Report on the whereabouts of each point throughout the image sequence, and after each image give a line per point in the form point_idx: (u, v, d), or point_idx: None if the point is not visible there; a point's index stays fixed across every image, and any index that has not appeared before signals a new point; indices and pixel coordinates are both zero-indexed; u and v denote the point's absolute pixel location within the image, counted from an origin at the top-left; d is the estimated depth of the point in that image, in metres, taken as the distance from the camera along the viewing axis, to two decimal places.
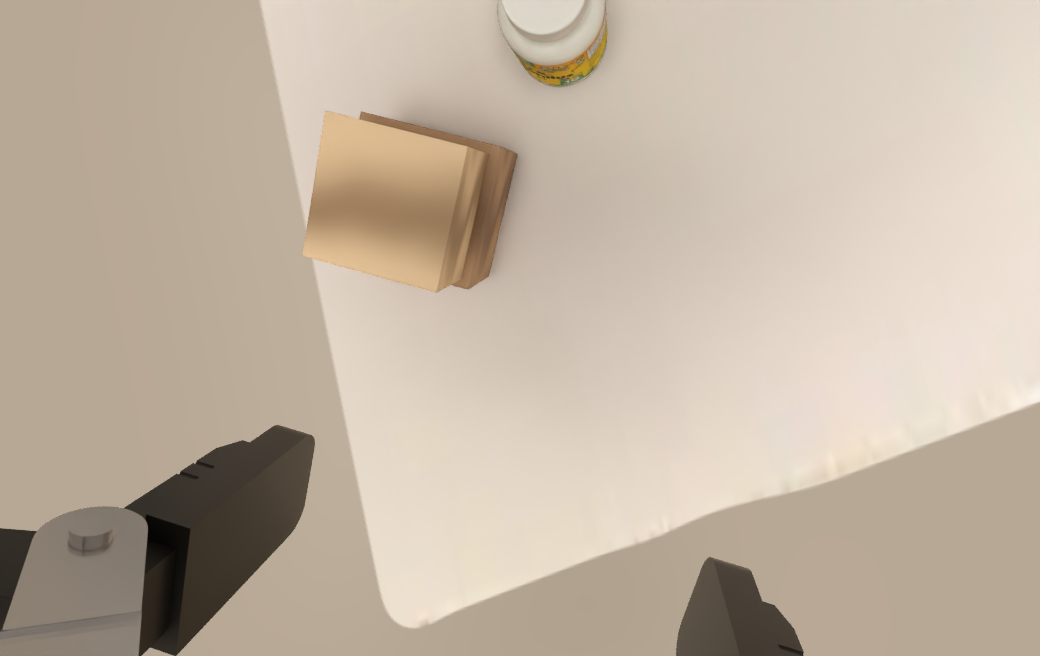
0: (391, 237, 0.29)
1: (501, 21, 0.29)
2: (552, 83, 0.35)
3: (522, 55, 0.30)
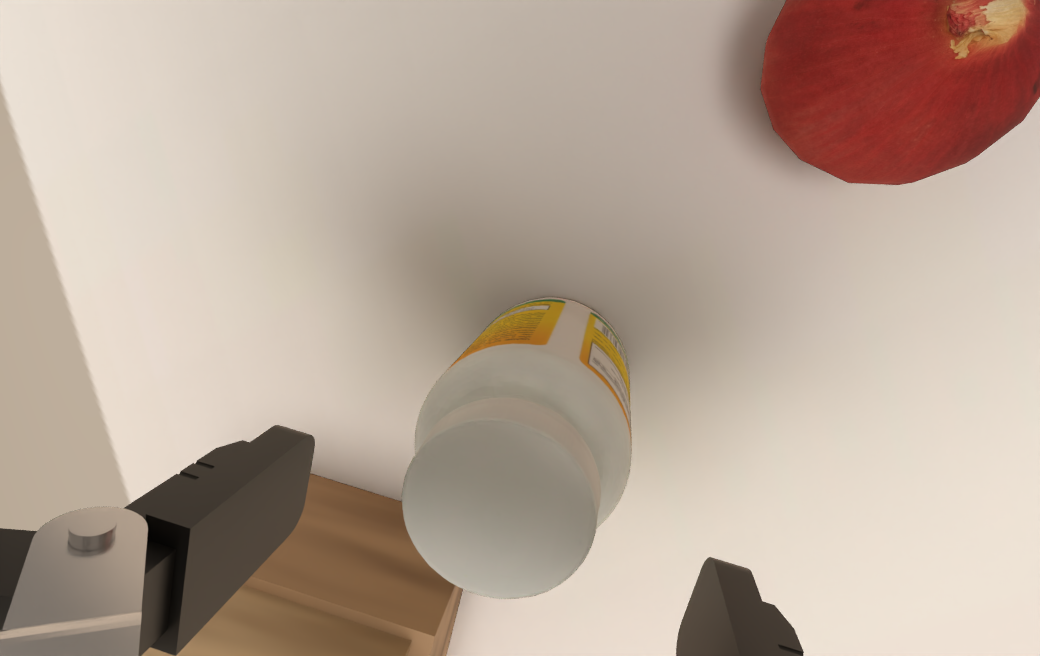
0: None
1: None
2: None
3: None
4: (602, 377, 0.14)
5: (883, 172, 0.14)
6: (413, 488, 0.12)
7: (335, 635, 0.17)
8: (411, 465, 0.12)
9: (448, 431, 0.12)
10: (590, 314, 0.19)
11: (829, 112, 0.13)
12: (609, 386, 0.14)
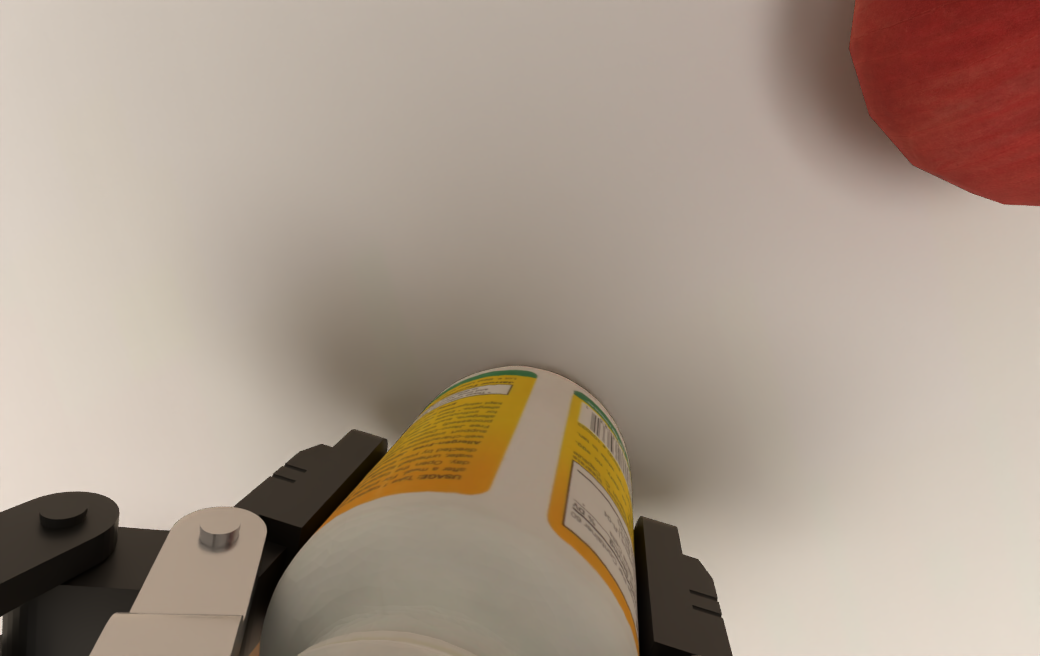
0: None
1: None
2: None
3: None
4: (588, 551, 0.08)
5: None
6: None
7: None
8: None
9: None
10: (573, 396, 0.13)
11: (1013, 74, 0.07)
12: (600, 568, 0.08)
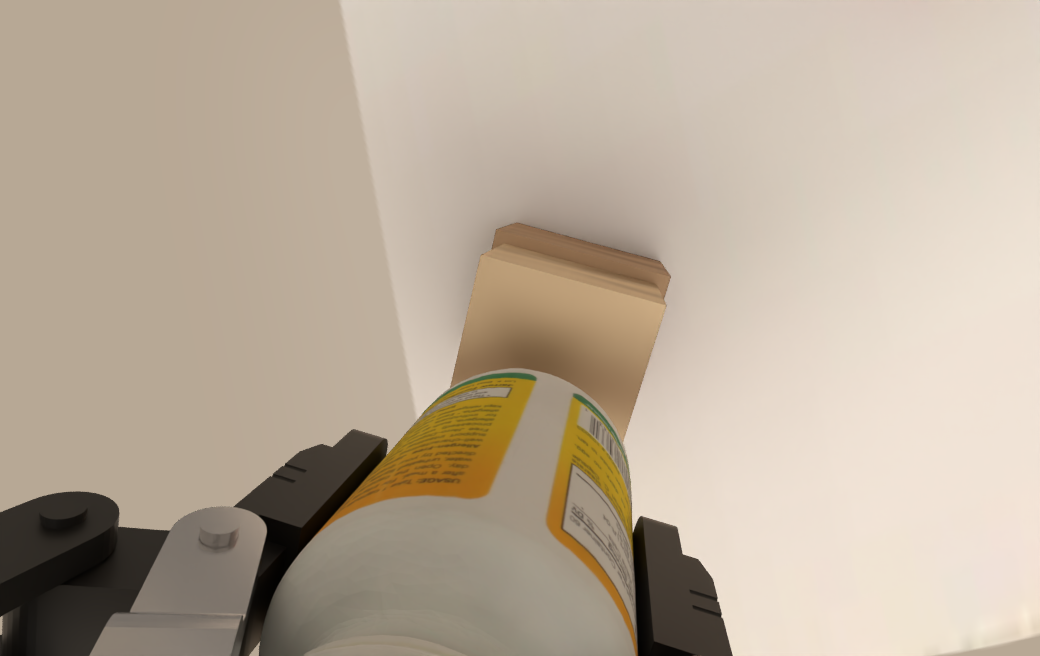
0: None
1: None
2: None
3: None
4: (586, 555, 0.08)
5: None
6: None
7: (610, 274, 0.26)
8: None
9: None
10: (572, 399, 0.13)
11: None
12: (599, 571, 0.08)
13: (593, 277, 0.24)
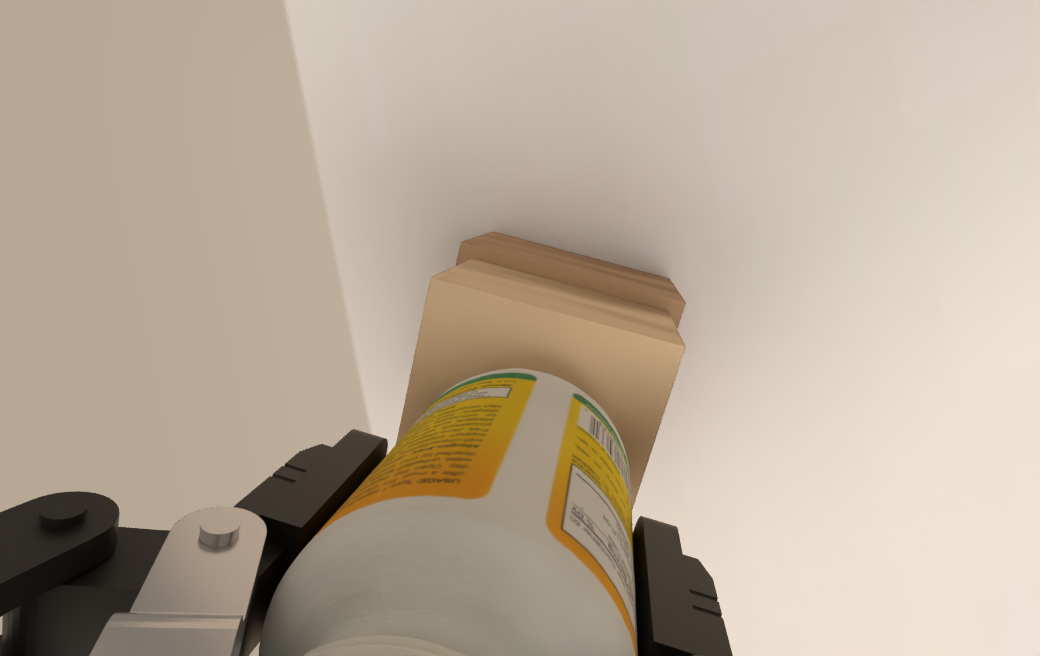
0: None
1: None
2: None
3: None
4: (586, 555, 0.08)
5: None
6: None
7: (608, 298, 0.20)
8: None
9: None
10: (572, 399, 0.13)
11: None
12: (599, 572, 0.08)
13: (585, 305, 0.18)
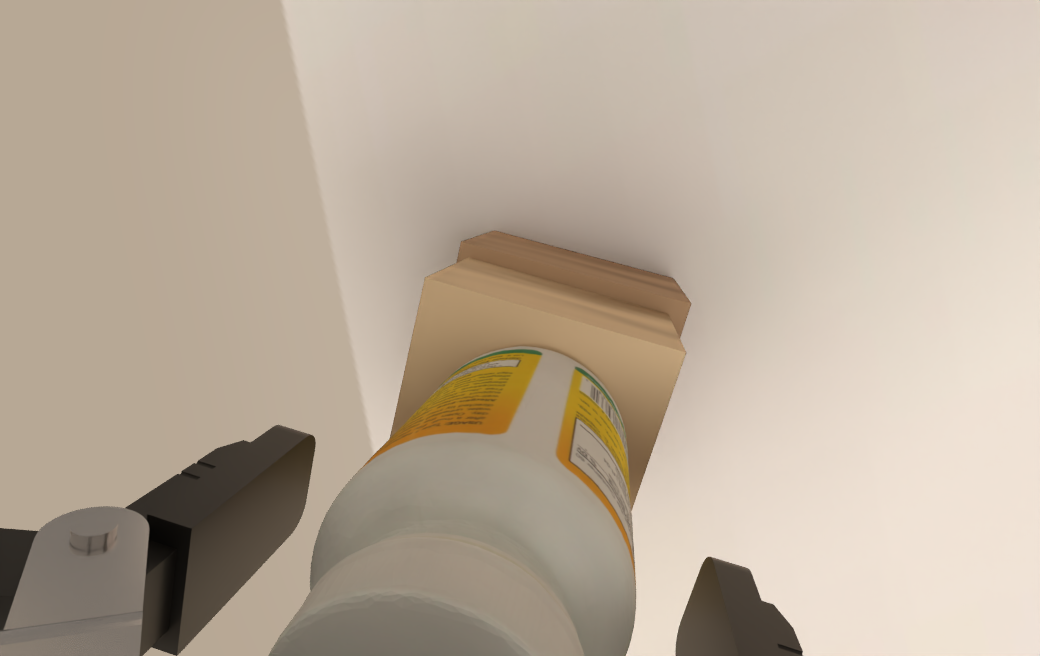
0: None
1: None
2: None
3: None
4: (590, 482, 0.09)
5: None
6: None
7: (607, 300, 0.19)
8: None
9: (325, 611, 0.07)
10: (575, 370, 0.14)
11: None
12: (601, 496, 0.09)
13: (583, 307, 0.17)
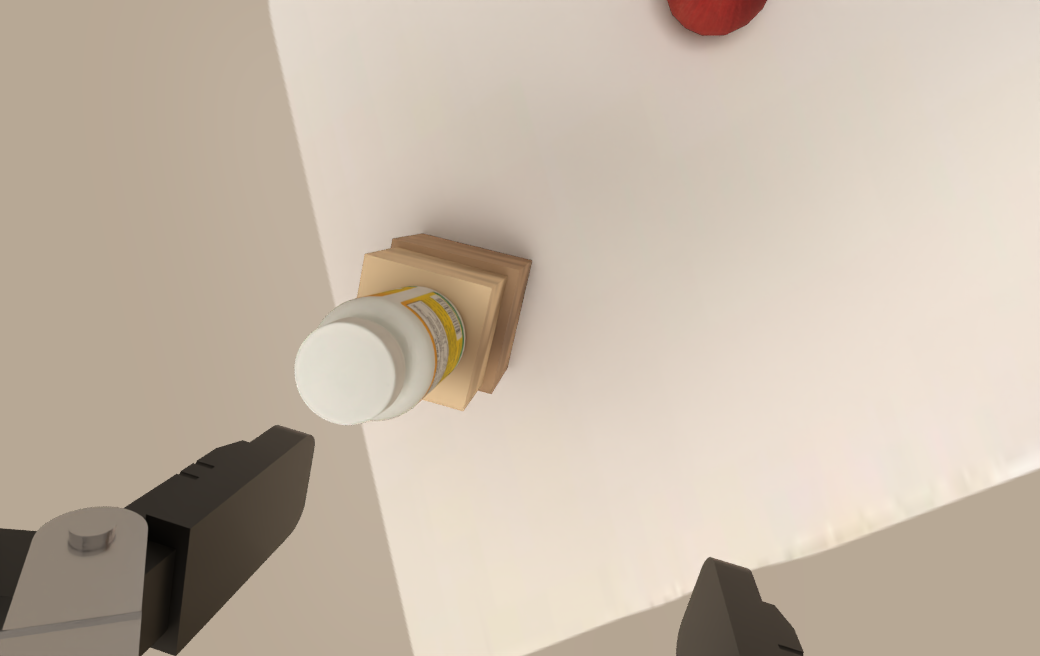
0: None
1: None
2: None
3: None
4: (414, 311, 0.25)
5: (713, 23, 0.32)
6: (299, 366, 0.23)
7: (472, 268, 0.35)
8: (297, 353, 0.22)
9: (314, 331, 0.22)
10: (432, 292, 0.30)
11: None
12: (418, 316, 0.25)
13: (450, 270, 0.33)
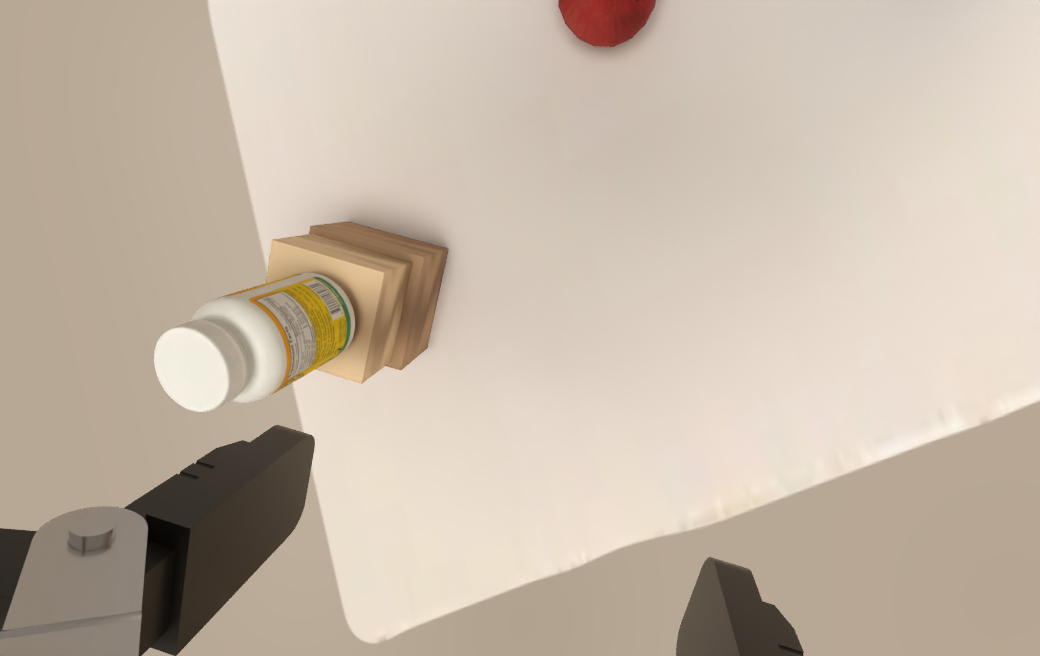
0: None
1: None
2: None
3: None
4: (261, 305, 0.28)
5: (598, 36, 0.35)
6: (158, 366, 0.27)
7: (378, 255, 0.39)
8: (154, 356, 0.27)
9: (161, 337, 0.26)
10: (311, 278, 0.33)
11: (572, 11, 0.35)
12: (265, 309, 0.28)
13: (353, 256, 0.36)
